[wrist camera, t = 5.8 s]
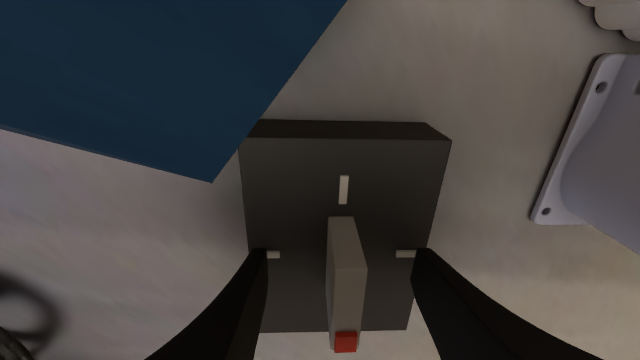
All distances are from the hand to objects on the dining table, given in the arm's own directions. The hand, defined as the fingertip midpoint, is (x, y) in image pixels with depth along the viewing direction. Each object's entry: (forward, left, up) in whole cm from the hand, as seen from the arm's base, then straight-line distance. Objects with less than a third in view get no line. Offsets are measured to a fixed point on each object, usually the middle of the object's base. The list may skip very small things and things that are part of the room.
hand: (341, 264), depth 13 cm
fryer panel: (0, 0, -4) cm, 4 cm away
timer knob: (0, 0, -1) cm, 1 cm away
